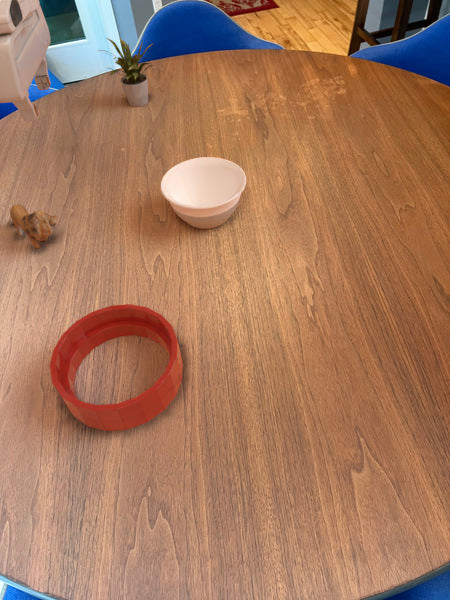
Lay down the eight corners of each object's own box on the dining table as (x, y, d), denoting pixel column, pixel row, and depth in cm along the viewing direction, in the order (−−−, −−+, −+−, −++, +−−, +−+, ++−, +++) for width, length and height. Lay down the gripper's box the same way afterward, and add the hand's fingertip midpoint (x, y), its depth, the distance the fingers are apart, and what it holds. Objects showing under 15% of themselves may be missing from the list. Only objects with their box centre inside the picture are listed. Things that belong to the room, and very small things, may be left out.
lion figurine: (71, 245, 92) (56, 208, 85) (50, 262, 89) (33, 224, 82) (23, 220, 98) (5, 183, 91) (2, 234, 95) (-18, 197, 88)
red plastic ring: (54, 437, 66) (37, 414, 61) (75, 334, 77) (62, 308, 72) (182, 428, 65) (175, 405, 60) (184, 326, 77) (178, 300, 72)
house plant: (96, 107, 128) (79, 42, 116) (131, 85, 135) (118, 22, 123) (136, 120, 122) (121, 53, 110) (170, 96, 129) (160, 31, 117)
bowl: (208, 256, 87) (203, 219, 81) (150, 221, 95) (142, 185, 88) (264, 212, 94) (264, 175, 88) (206, 183, 102) (202, 147, 96)
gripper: (-4, -28, 66) (32, 73, 76) (-53, 27, 53) (-1, 141, 63) (41, -32, 66) (71, 70, 76) (4, 22, 53) (47, 137, 63)
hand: (38, 102), depth 70 cm, fingers open, 8 cm apart
